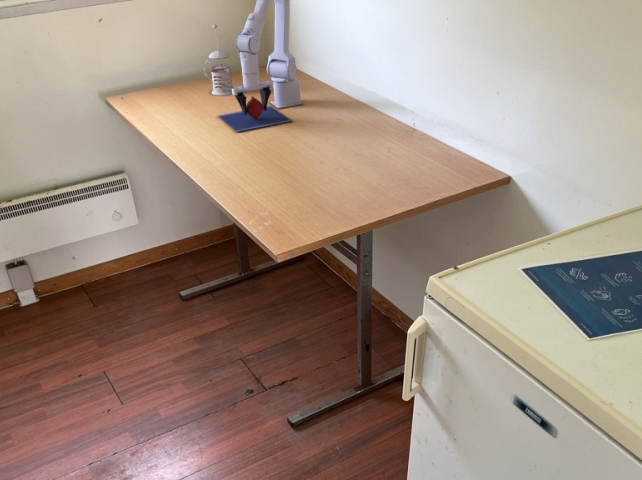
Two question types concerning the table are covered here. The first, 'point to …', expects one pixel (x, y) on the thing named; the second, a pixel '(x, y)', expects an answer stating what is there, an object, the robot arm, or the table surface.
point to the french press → (221, 86)
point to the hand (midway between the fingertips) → (254, 112)
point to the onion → (254, 108)
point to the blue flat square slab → (254, 120)
